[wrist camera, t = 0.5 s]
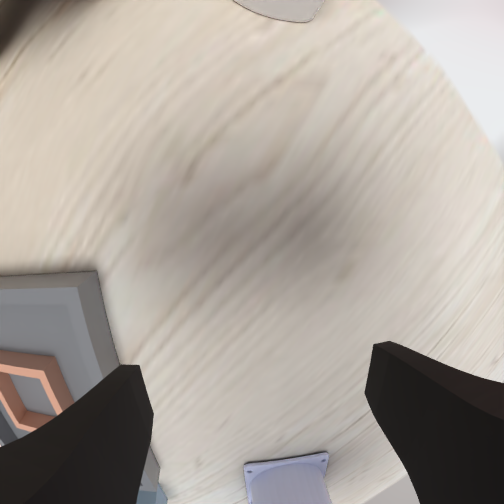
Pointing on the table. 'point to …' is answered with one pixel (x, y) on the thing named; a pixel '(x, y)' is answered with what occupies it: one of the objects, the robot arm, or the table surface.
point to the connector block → (152, 497)
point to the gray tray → (53, 351)
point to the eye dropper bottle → (284, 8)
